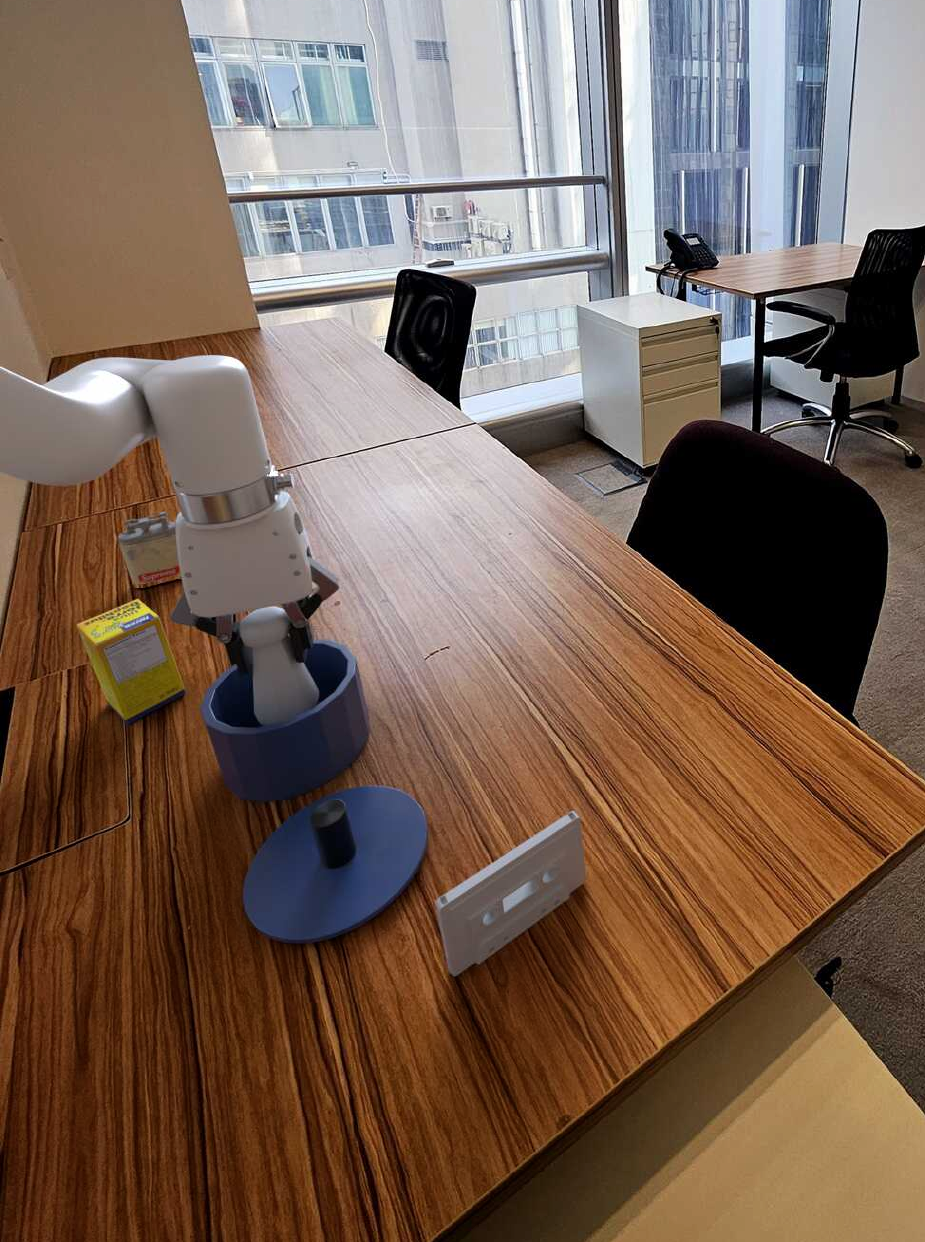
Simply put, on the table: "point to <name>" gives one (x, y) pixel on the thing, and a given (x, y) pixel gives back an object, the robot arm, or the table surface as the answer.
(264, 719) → the salt shaker
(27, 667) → the table surface
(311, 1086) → the table surface
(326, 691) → the pot
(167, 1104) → the table surface
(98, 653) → the supplement box
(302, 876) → the pot lid
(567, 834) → the cassette
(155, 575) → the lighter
